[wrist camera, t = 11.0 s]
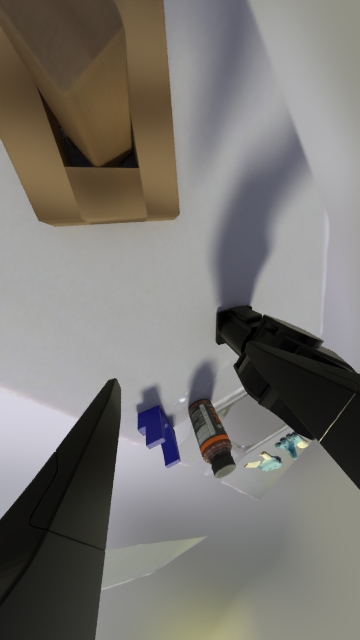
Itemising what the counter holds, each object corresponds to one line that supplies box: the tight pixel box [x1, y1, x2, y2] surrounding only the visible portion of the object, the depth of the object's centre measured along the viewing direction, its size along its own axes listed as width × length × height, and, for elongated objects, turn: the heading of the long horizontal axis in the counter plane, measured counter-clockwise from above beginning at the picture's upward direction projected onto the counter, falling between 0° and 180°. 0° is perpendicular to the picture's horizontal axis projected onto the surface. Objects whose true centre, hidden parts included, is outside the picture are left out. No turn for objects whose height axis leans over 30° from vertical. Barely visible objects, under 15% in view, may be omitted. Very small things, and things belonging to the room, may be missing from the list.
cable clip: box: [138, 405, 181, 468], centre depth 28 cm, size 12×4×6 cm, turn 15°
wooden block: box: [0, 0, 132, 168], centre depth 8 cm, size 4×4×8 cm
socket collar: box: [0, 0, 180, 227], centre depth 11 cm, size 12×12×2 cm
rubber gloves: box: [244, 434, 308, 472], centre depth 65 cm, size 27×33×6 cm
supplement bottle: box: [189, 400, 236, 478], centre depth 28 cm, size 6×6×11 cm
